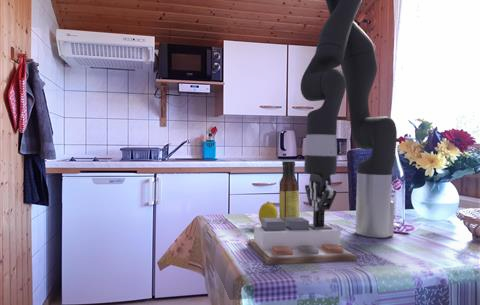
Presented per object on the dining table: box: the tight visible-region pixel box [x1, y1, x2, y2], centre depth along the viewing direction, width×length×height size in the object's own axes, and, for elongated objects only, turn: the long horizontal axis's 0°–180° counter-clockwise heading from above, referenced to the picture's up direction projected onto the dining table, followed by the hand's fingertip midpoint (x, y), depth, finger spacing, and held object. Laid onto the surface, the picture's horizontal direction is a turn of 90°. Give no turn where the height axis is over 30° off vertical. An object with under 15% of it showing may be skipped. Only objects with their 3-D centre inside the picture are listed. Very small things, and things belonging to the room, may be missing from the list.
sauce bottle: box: [278, 160, 300, 221], centre depth 112 cm, size 7×6×20 cm
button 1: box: [309, 223, 332, 230], centre depth 84 cm, size 4×4×4 cm
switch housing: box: [253, 222, 342, 251], centre depth 83 cm, size 19×8×4 cm, turn 102°
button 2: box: [285, 216, 310, 230], centre depth 83 cm, size 4×4×4 cm
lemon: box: [258, 201, 279, 223], centre depth 103 cm, size 6×6×8 cm
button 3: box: [260, 217, 285, 231], centre depth 81 cm, size 4×4×4 cm
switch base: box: [248, 238, 358, 266], centre depth 81 cm, size 20×16×2 cm
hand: (318, 226), depth 84 cm, fingers closed
